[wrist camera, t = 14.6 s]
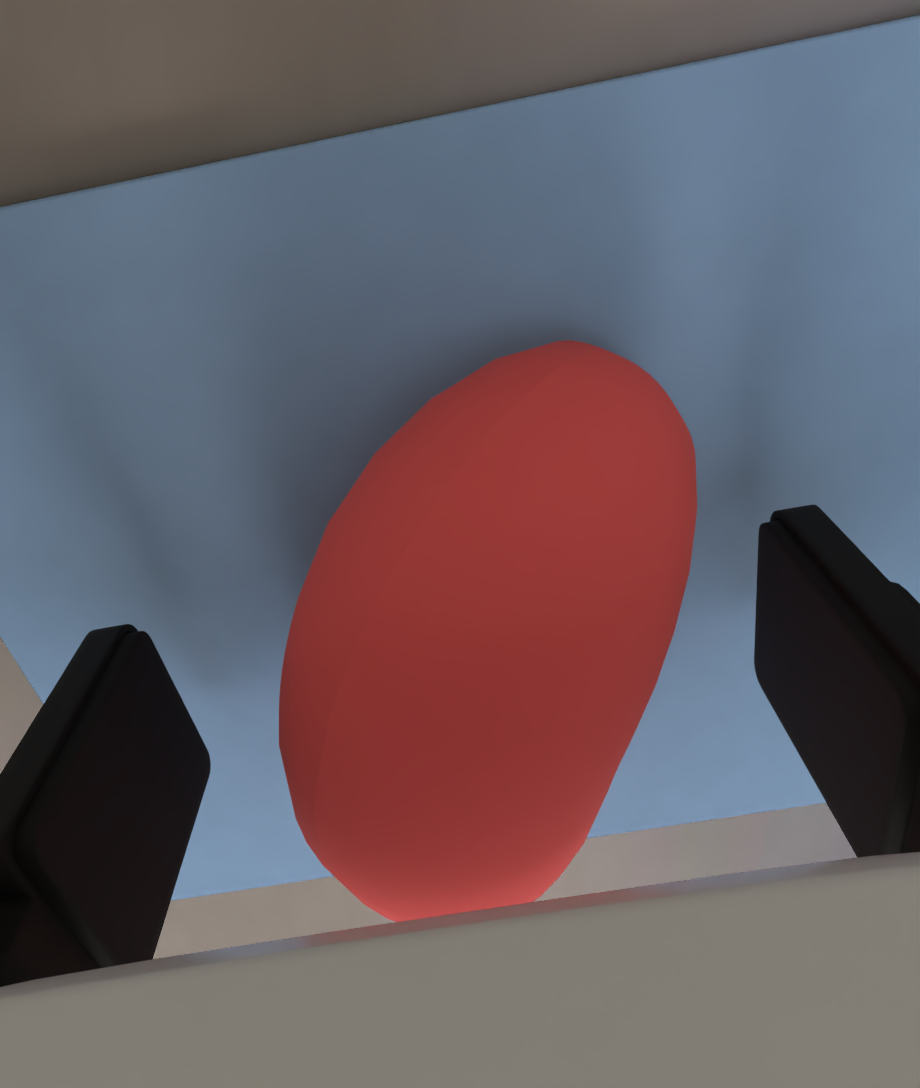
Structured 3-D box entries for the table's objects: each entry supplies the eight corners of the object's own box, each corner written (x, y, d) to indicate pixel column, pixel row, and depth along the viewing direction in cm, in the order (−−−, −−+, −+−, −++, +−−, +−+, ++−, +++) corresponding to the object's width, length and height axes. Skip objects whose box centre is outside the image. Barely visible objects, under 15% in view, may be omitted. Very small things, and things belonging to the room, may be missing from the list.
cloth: (-220, 253, 10) (-244, 259, 10) (1010, -5, 9) (1035, -9, 9) (173, 885, 17) (168, 901, 17) (880, 778, 16) (890, 793, 16)
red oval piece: (215, 629, 15) (242, 995, 11) (335, 234, 8) (480, 856, 5) (454, 622, 17) (531, 926, 14) (703, 313, 10) (964, 765, 7)
